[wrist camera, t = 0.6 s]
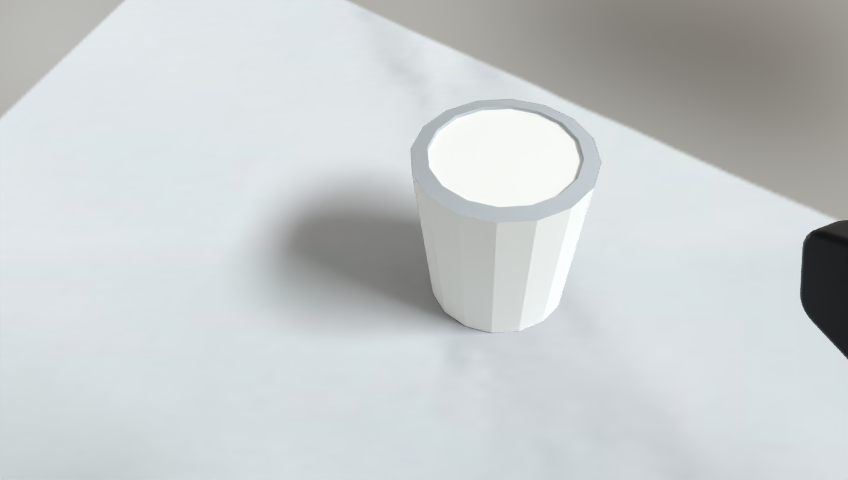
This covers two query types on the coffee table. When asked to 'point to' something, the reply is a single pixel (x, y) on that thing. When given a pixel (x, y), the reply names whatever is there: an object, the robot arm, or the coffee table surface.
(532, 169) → the shot glass
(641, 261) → the coffee table surface
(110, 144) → the coffee table surface
